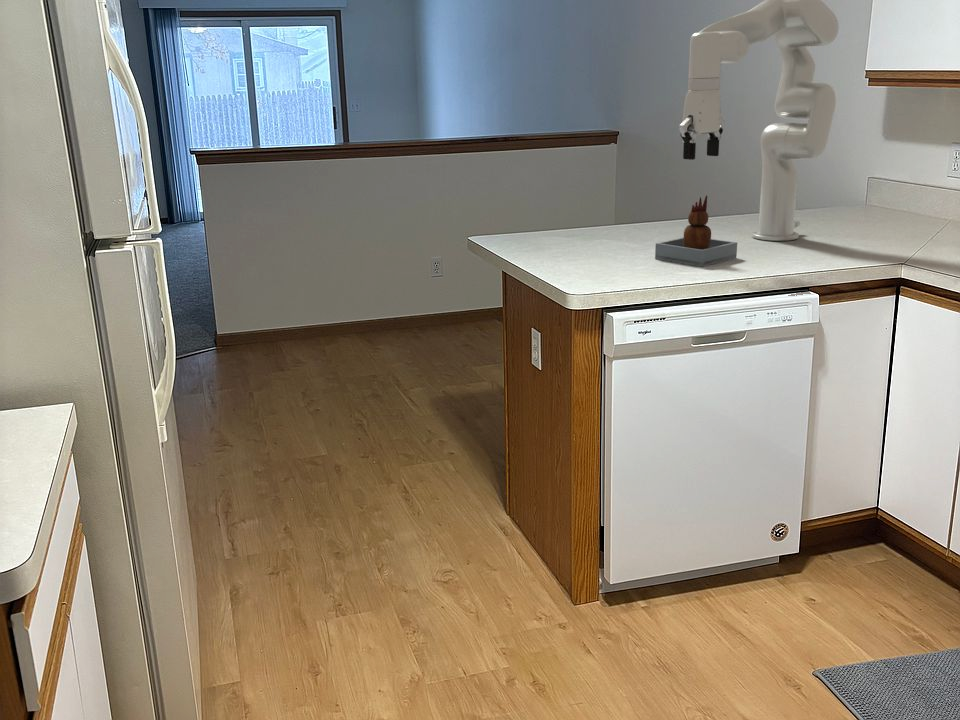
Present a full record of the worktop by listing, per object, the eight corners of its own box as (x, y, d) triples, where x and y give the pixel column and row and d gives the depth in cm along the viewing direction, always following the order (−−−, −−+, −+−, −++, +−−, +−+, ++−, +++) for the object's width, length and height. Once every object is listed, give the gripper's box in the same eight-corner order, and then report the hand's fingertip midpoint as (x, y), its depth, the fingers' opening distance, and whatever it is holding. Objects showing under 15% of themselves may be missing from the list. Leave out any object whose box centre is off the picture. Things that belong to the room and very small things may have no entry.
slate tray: (689, 250, 246) (690, 235, 245) (736, 257, 236) (737, 242, 234) (655, 258, 237) (655, 243, 236) (702, 266, 227) (703, 250, 225)
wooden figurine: (711, 252, 238) (714, 194, 233) (708, 257, 232) (711, 197, 228) (684, 251, 240) (687, 193, 235) (681, 255, 235) (683, 196, 230)
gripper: (712, 84, 232) (708, 153, 237) (669, 87, 221) (667, 159, 226) (737, 84, 226) (733, 155, 231) (695, 87, 215) (692, 161, 221)
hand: (700, 157), depth 229 cm, fingers open, 9 cm apart
